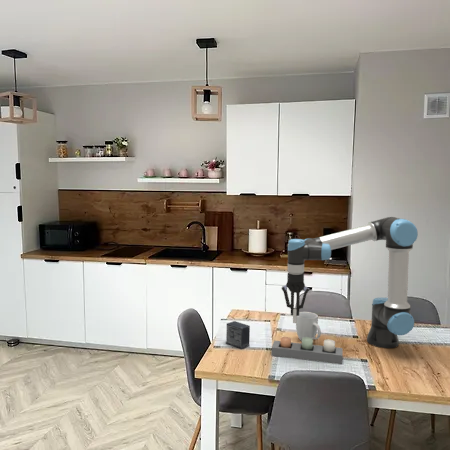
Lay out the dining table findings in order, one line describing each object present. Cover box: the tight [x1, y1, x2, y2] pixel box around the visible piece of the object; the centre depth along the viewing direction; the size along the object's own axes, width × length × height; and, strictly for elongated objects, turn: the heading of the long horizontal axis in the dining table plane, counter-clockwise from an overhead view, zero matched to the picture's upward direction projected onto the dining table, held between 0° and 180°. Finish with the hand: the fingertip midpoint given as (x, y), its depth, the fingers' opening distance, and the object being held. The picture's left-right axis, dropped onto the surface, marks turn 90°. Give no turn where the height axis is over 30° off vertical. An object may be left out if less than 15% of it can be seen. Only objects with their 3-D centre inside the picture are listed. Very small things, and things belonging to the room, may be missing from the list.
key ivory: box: [323, 338, 336, 352], centre depth 199 cm, size 5×5×4 cm
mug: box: [295, 311, 322, 342], centre depth 221 cm, size 15×11×13 cm
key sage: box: [301, 337, 314, 349], centre depth 202 cm, size 5×5×4 cm
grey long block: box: [270, 340, 343, 365], centre depth 202 cm, size 32×9×4 cm, turn 75°
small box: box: [225, 320, 251, 350], centre depth 214 cm, size 11×6×10 cm, turn 47°
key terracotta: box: [279, 336, 292, 348], centre depth 204 cm, size 5×5×4 cm
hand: (294, 322), depth 202 cm, fingers closed
